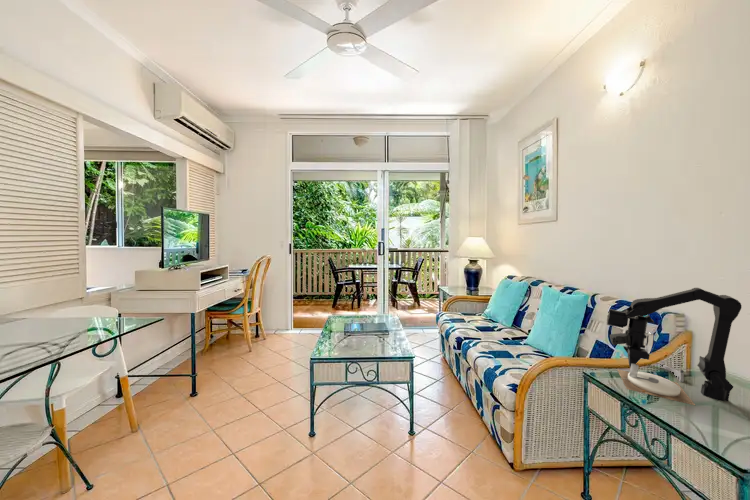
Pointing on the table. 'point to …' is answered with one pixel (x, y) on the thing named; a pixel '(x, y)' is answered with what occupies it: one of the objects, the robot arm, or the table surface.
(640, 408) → the table surface
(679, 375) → the caliper
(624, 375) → the dial base
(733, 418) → the table surface
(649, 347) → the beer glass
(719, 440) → the table surface
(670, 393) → the dial
